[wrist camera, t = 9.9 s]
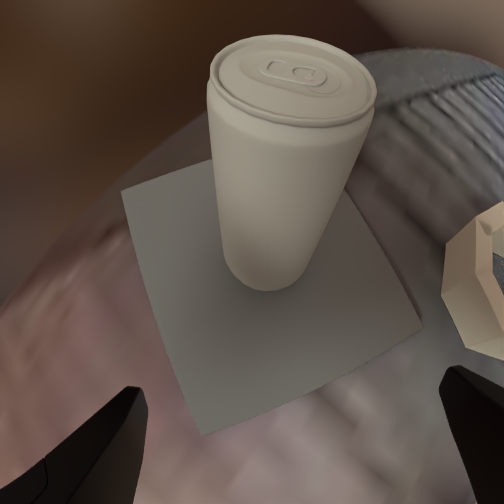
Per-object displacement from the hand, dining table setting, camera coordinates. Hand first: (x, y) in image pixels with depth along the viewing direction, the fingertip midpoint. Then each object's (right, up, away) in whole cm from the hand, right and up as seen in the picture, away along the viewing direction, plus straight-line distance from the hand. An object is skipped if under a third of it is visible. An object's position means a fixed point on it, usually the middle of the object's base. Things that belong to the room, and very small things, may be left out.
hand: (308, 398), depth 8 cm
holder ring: (+16, +1, +11) cm, 20 cm away
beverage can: (-1, +4, +11) cm, 11 cm away
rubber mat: (-1, +3, +11) cm, 12 cm away
